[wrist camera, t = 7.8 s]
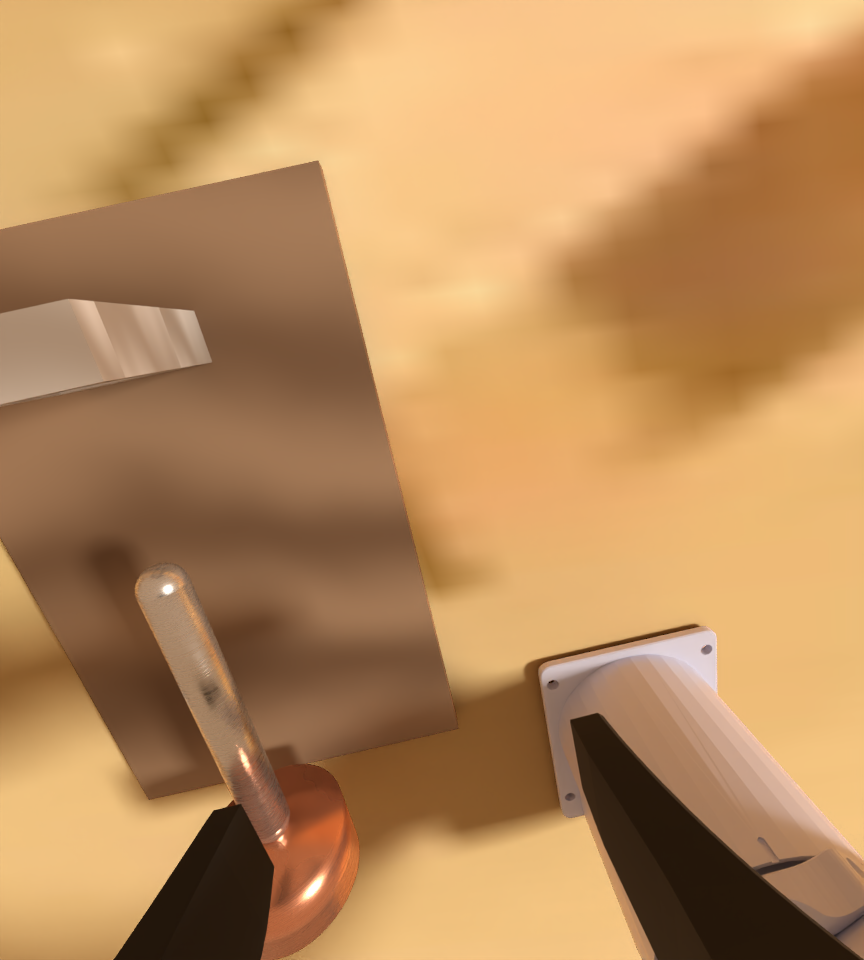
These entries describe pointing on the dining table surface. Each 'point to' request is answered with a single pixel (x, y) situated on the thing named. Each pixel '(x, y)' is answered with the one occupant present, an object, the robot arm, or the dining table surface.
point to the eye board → (212, 471)
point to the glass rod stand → (257, 771)
